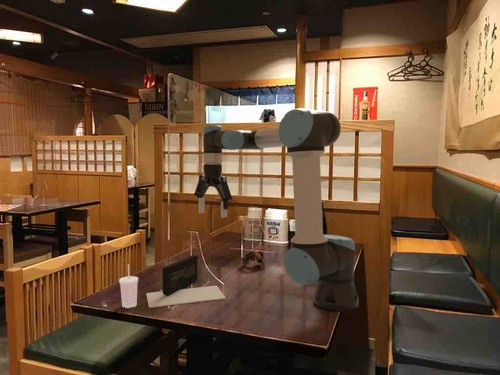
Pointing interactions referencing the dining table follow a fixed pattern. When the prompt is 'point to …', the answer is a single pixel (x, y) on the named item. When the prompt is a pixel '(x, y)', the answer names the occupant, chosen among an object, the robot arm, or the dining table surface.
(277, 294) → the dining table surface
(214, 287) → the beige mat
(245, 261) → the pottery mug
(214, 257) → the dining table surface
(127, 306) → the beverage cup
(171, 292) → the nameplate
